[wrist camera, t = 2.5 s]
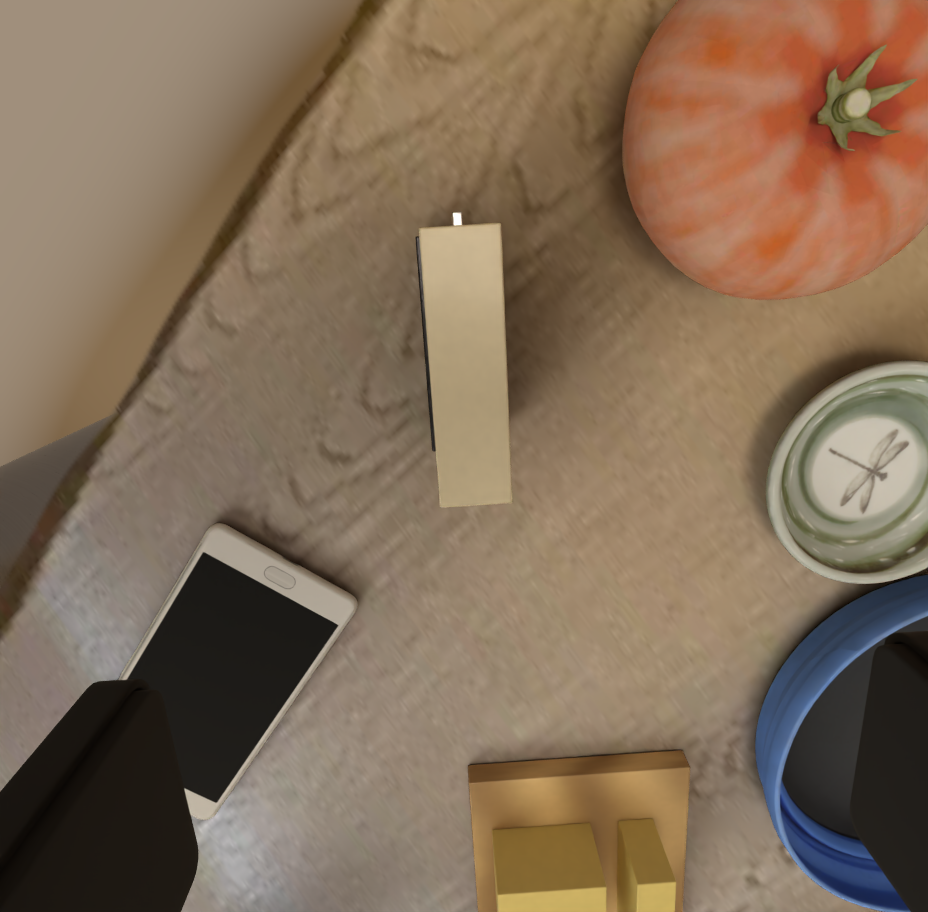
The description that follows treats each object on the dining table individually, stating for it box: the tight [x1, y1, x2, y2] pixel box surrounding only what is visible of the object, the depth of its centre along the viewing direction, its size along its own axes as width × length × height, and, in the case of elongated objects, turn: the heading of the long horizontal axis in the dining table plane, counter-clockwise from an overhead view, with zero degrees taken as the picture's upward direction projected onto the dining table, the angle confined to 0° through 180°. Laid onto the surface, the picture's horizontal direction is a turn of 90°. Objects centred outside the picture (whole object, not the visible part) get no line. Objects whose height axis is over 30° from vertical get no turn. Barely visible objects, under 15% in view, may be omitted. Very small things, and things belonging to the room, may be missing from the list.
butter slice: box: [617, 819, 676, 912], centre depth 32 cm, size 2×6×4 cm, turn 4°
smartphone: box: [119, 523, 358, 820], centre depth 30 cm, size 8×1×15 cm
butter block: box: [492, 823, 607, 912], centre depth 31 cm, size 5×6×4 cm
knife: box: [419, 212, 513, 508], centre depth 22 cm, size 2×9×8 cm, turn 3°
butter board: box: [468, 750, 690, 912], centre depth 34 cm, size 11×12×1 cm
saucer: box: [766, 360, 928, 584], centre depth 27 cm, size 10×10×2 cm
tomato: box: [622, 0, 928, 300], centre depth 21 cm, size 11×11×8 cm
